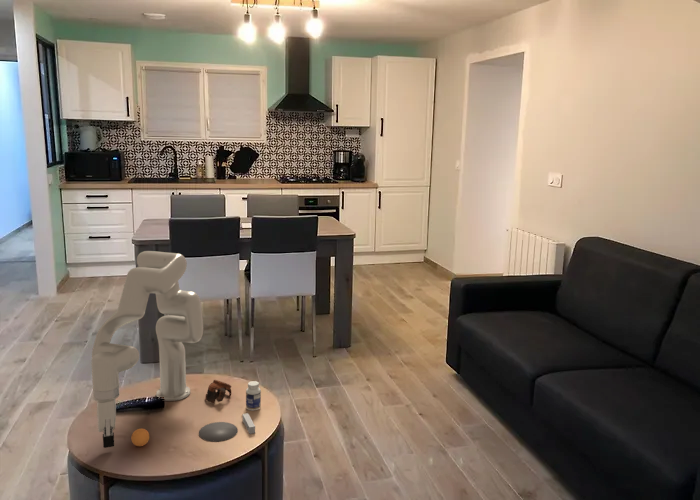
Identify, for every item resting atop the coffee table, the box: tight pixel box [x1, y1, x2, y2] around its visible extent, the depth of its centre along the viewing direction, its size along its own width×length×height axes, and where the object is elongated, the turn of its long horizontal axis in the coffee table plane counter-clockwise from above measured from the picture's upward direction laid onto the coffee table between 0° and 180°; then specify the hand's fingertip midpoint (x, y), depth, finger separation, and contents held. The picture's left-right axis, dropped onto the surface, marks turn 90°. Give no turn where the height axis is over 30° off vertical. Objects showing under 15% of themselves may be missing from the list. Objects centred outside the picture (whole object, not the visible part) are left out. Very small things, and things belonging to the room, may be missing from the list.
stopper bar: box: [242, 412, 256, 435], centre depth 200 cm, size 10×2×2 cm, turn 24°
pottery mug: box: [204, 379, 232, 405], centre depth 220 cm, size 12×10×8 cm
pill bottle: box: [245, 380, 262, 411], centre depth 213 cm, size 5×5×10 cm
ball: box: [130, 427, 150, 447], centre depth 186 cm, size 6×6×6 cm
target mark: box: [198, 421, 239, 443], centre depth 196 cm, size 13×13×1 cm
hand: (108, 445), depth 182 cm, fingers closed
